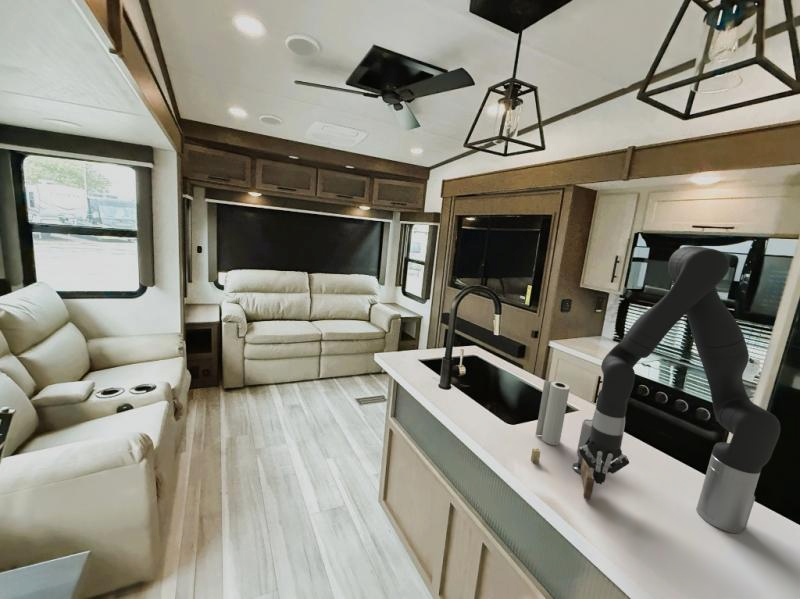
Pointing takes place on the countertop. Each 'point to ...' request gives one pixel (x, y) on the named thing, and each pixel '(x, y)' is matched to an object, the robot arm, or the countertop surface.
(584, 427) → the energy drink
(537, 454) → the block
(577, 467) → the grey knob on disc
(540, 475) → the countertop surface
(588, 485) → the wooden block
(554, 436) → the paper towel roll
